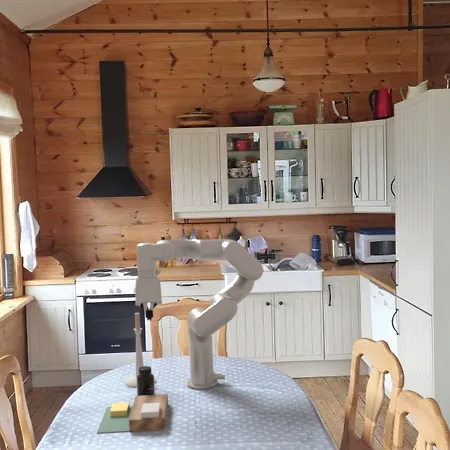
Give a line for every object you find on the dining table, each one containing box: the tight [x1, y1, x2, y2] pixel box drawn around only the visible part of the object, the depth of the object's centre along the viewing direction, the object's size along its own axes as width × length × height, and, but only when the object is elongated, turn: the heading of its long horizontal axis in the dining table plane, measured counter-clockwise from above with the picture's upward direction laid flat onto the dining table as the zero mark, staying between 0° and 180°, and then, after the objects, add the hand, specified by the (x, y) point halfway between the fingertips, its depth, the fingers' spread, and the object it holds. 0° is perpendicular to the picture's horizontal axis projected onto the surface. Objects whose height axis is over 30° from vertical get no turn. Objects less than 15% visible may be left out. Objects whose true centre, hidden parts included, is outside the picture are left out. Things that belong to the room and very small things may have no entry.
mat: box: [96, 405, 133, 434], centre depth 209 cm, size 12×22×1 cm, turn 2°
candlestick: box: [124, 312, 157, 388], centre depth 245 cm, size 13×13×30 cm
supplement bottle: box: [136, 365, 156, 396], centre depth 228 cm, size 7×7×12 cm
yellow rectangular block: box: [110, 401, 131, 417], centre depth 215 cm, size 6×8×2 cm
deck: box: [129, 393, 169, 432], centre depth 209 cm, size 12×22×4 cm, turn 2°
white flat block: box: [141, 403, 160, 418], centre depth 203 cm, size 6×8×2 cm
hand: (149, 319), depth 234 cm, fingers closed
